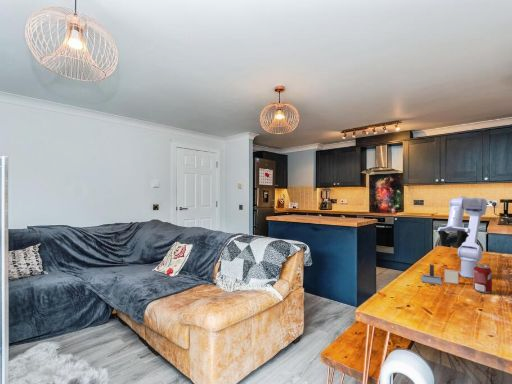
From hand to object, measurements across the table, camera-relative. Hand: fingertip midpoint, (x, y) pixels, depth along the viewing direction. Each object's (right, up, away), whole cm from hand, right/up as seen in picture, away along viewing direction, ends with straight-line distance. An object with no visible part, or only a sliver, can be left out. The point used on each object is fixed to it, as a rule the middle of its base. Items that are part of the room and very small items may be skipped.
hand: (450, 245), depth 135 cm
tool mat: (-5, -20, +8) cm, 22 cm away
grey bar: (0, -20, +14) cm, 25 cm away
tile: (+4, -20, +5) cm, 21 cm away
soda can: (+11, -21, -6) cm, 24 cm away
